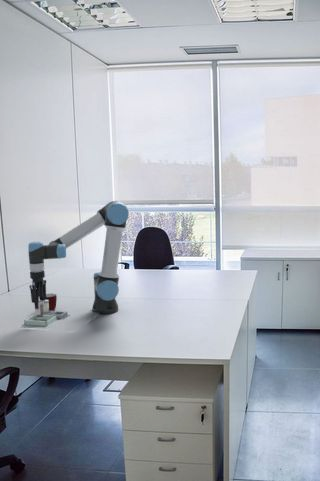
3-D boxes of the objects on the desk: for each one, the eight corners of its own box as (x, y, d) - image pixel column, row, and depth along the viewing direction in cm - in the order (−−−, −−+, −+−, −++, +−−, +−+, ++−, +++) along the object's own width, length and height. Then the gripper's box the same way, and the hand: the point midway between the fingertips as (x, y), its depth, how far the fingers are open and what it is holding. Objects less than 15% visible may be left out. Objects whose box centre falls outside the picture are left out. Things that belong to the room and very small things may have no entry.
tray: (57, 321, 261) (56, 315, 261) (47, 327, 251) (46, 321, 251) (35, 320, 265) (34, 314, 265) (24, 326, 255) (24, 320, 255)
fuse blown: (44, 317, 259) (43, 301, 258) (41, 319, 256) (40, 303, 254) (39, 317, 260) (38, 301, 259) (35, 319, 257) (34, 303, 255)
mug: (37, 313, 279) (36, 296, 278) (44, 309, 287) (43, 293, 285) (53, 314, 276) (52, 297, 275) (59, 310, 284) (58, 293, 282)
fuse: (50, 315, 271) (49, 299, 269) (47, 316, 267) (46, 301, 266) (45, 314, 272) (44, 299, 270) (42, 316, 268) (40, 301, 267)
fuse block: (70, 316, 269) (70, 311, 269) (63, 321, 262) (63, 315, 262) (42, 315, 275) (42, 310, 274) (35, 319, 267) (34, 314, 267)
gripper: (39, 267, 263) (41, 308, 266) (22, 273, 247) (25, 317, 251) (51, 267, 261) (53, 309, 264) (35, 274, 245) (37, 318, 248)
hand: (39, 313), depth 257 cm, fingers closed on fuse blown, 3 cm apart
